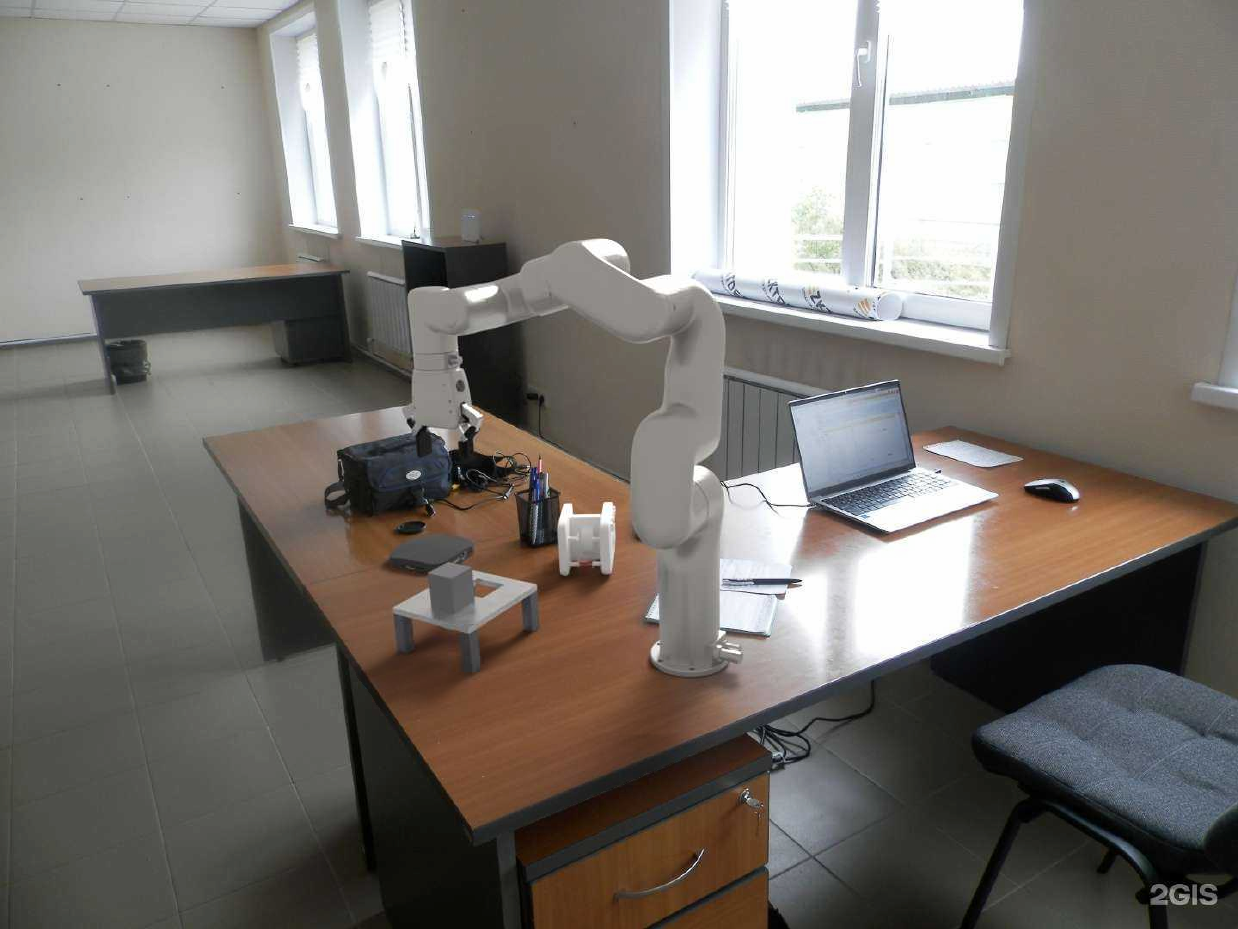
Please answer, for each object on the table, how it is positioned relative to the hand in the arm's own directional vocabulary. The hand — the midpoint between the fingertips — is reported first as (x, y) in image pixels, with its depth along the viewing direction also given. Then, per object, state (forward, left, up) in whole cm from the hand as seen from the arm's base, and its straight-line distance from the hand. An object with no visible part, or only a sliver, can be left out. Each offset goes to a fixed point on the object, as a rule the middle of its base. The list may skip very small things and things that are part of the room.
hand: (445, 458), depth 156 cm
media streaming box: (+21, -16, -29) cm, 39 cm away
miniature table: (-10, +9, -28) cm, 31 cm away
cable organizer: (-11, -27, -29) cm, 41 cm away
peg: (-10, +12, -24) cm, 29 cm away
